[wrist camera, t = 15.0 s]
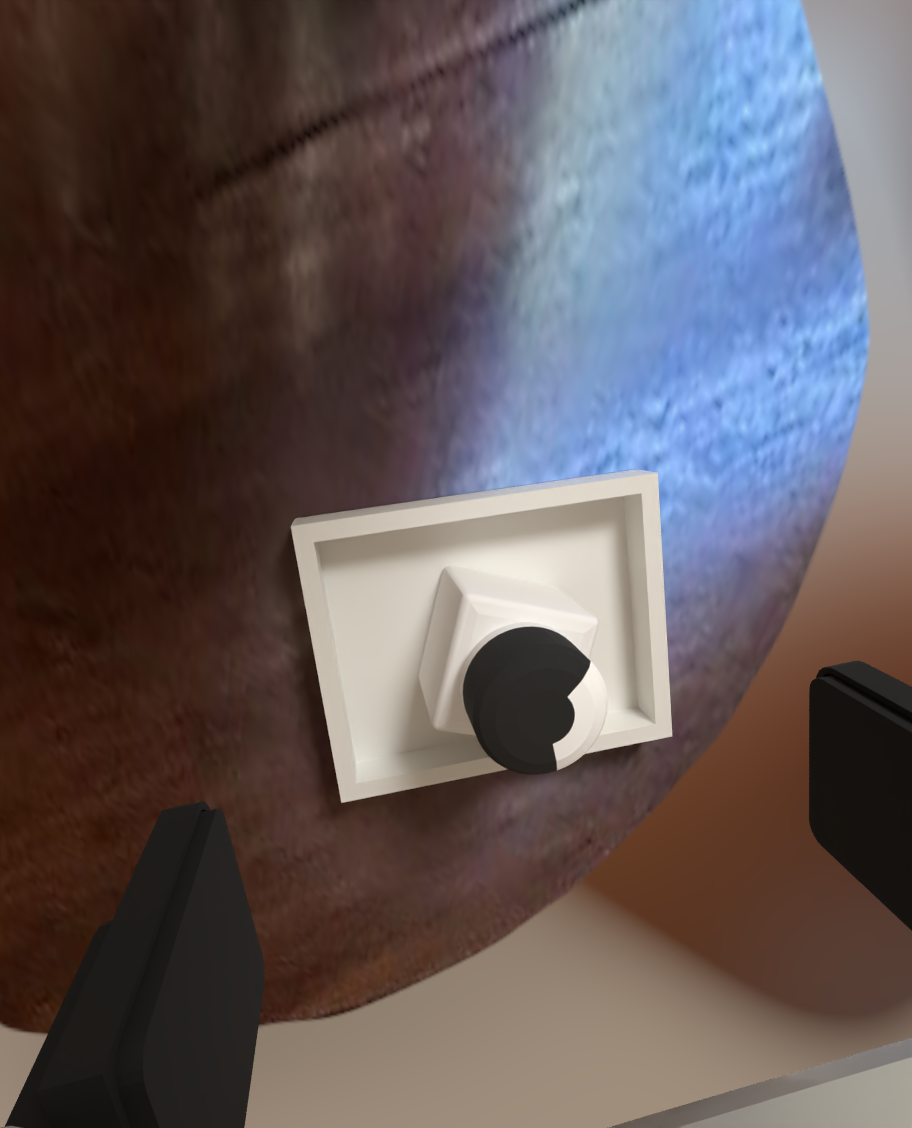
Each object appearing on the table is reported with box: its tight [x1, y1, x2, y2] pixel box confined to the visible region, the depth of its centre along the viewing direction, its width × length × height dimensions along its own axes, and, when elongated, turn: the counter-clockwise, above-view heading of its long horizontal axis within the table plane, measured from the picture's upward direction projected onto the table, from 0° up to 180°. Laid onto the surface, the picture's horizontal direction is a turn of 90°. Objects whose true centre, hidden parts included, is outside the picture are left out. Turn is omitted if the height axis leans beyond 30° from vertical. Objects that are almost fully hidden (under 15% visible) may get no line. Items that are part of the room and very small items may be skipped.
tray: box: [291, 469, 672, 803], centre depth 38 cm, size 16×20×3 cm
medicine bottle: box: [419, 565, 608, 774], centre depth 33 cm, size 7×7×12 cm
